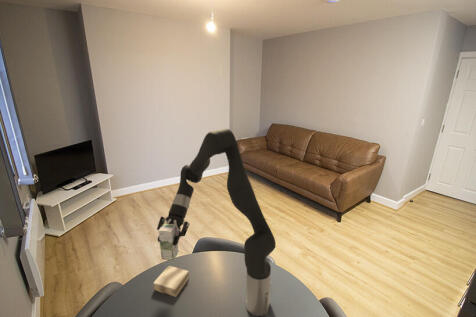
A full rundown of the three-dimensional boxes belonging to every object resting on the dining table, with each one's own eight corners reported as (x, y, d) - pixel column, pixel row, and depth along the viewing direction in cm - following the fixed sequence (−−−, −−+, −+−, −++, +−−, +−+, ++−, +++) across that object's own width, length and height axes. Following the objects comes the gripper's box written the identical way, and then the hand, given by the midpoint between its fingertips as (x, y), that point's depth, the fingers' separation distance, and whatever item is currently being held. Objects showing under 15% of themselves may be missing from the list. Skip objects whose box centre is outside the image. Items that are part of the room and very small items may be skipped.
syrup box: (178, 251, 103) (176, 223, 99) (174, 261, 97) (171, 231, 93) (166, 251, 104) (163, 222, 100) (161, 260, 98) (157, 230, 94)
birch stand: (189, 278, 108) (188, 271, 106) (175, 297, 97) (175, 289, 96) (169, 272, 111) (168, 265, 110) (154, 290, 101) (153, 282, 100)
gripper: (162, 201, 104) (147, 238, 96) (190, 205, 99) (177, 245, 92) (170, 206, 110) (157, 242, 102) (197, 211, 105) (185, 248, 98)
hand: (166, 243), depth 97 cm, fingers closed on syrup box, 6 cm apart
